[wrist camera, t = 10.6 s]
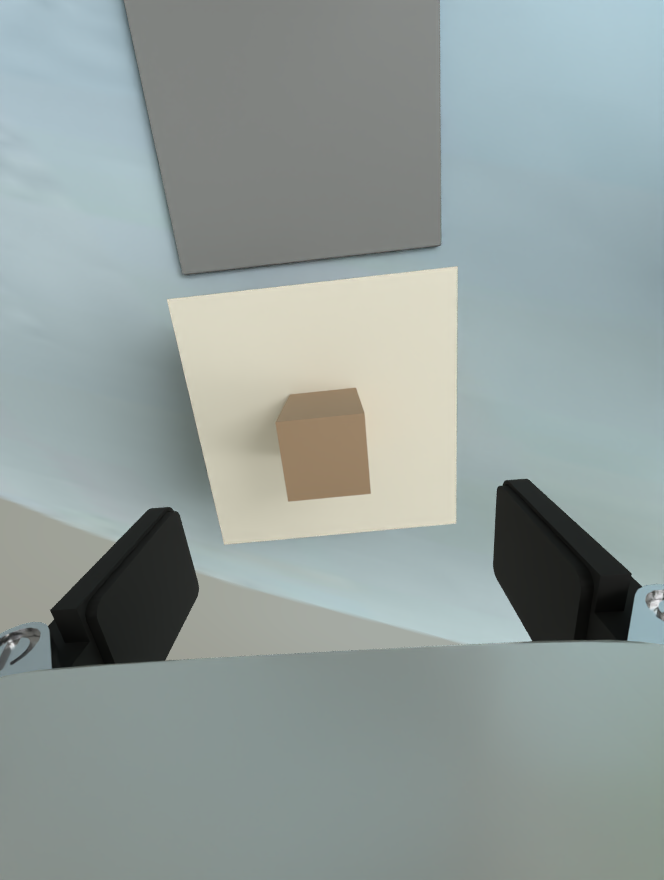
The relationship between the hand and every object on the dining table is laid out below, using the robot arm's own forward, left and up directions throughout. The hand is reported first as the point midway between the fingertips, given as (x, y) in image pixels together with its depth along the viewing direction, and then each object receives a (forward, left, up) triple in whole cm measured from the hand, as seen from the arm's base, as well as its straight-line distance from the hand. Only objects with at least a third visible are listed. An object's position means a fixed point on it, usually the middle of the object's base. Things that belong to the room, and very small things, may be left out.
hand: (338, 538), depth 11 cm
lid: (+1, 0, -13) cm, 13 cm away
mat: (+1, -19, -19) cm, 27 cm away
